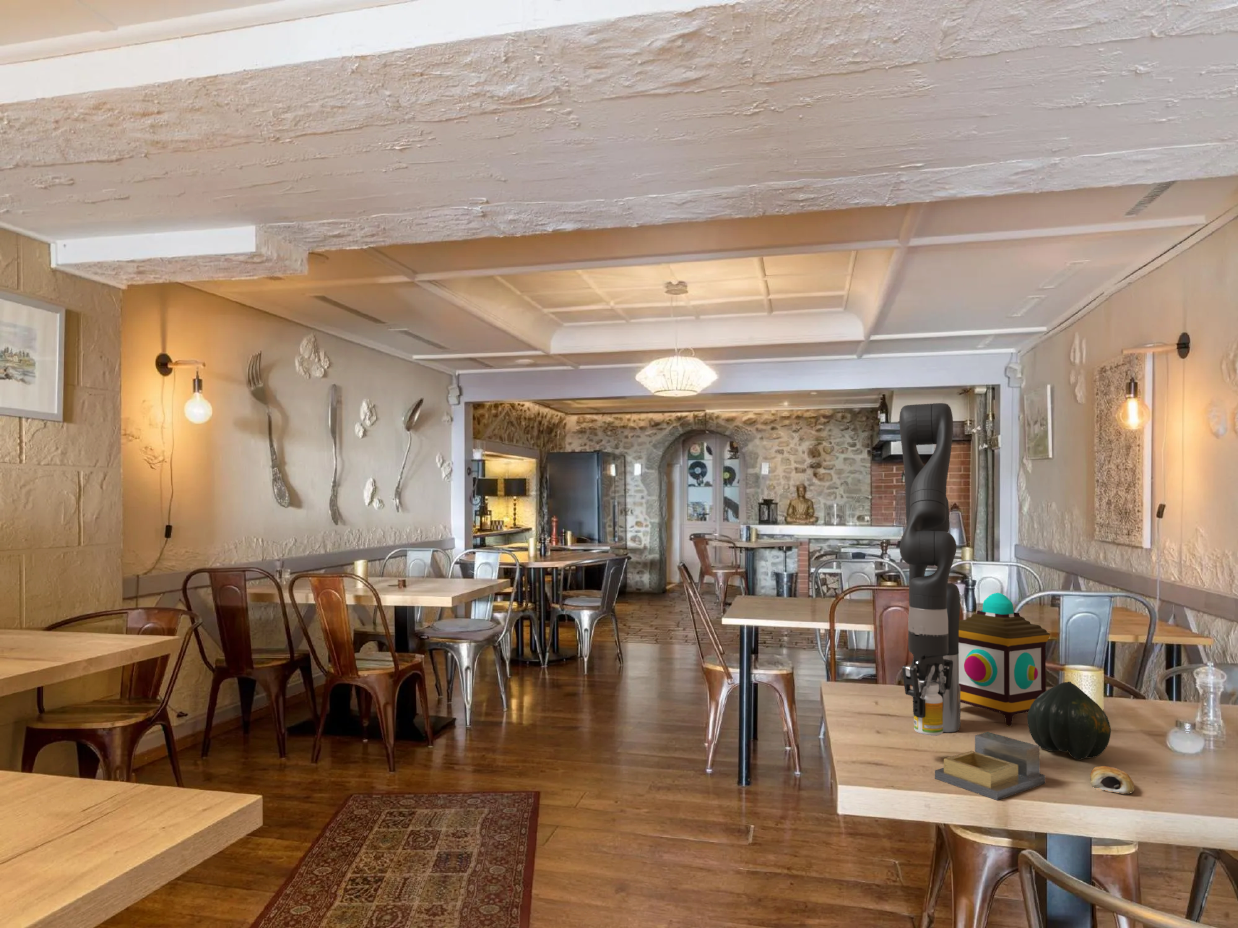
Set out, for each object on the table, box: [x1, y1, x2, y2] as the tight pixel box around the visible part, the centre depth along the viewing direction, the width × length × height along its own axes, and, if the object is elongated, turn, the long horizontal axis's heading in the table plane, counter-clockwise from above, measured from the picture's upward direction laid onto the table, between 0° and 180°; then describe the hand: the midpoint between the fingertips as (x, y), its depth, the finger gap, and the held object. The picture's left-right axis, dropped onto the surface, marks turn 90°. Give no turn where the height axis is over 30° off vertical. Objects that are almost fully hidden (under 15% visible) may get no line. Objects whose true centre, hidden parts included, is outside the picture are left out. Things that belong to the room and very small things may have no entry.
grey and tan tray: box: [934, 731, 1046, 801], centre depth 140 cm, size 16×12×6 cm
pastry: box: [1089, 765, 1135, 793], centre depth 139 cm, size 9×7×4 cm
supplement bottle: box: [913, 681, 944, 737], centre depth 151 cm, size 5×5×10 cm
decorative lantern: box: [959, 592, 1051, 728], centre depth 187 cm, size 20×20×30 cm
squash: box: [1026, 680, 1112, 760], centre depth 158 cm, size 14×15×15 cm
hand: (928, 713), depth 151 cm, fingers closed on supplement bottle, 5 cm apart
